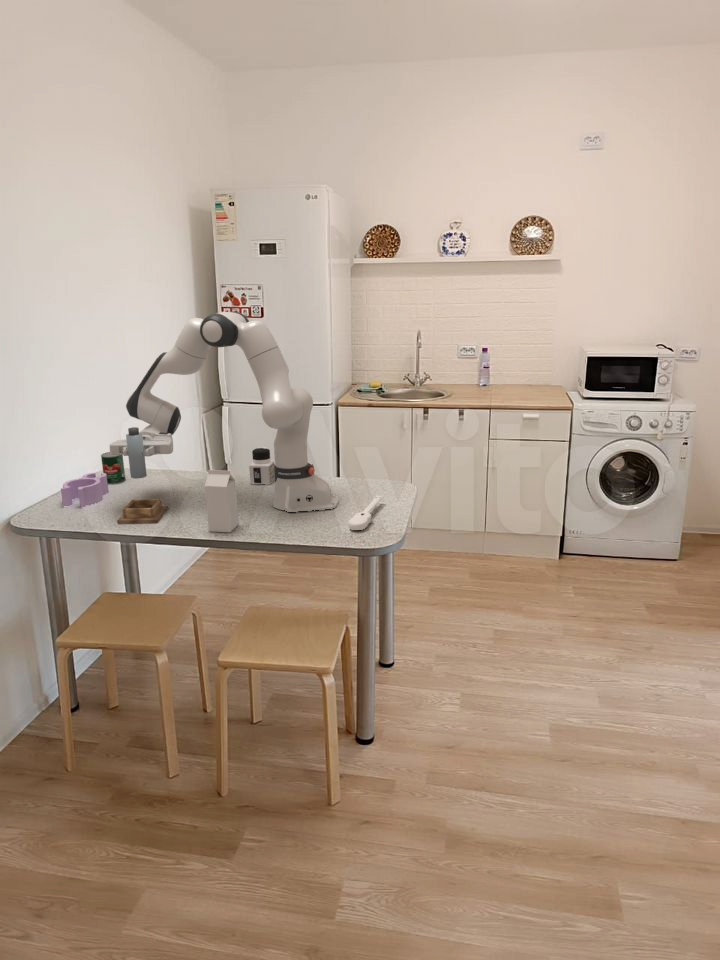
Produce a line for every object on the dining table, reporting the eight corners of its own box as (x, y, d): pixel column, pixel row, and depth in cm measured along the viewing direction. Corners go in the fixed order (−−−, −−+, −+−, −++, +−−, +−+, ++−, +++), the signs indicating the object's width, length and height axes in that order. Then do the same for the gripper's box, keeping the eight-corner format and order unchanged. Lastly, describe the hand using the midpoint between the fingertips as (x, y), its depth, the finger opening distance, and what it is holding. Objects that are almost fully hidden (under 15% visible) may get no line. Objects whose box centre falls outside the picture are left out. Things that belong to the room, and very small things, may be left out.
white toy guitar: (371, 503, 244) (371, 495, 244) (388, 504, 243) (387, 496, 242) (345, 531, 219) (345, 523, 218) (363, 533, 217) (363, 524, 216)
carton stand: (168, 508, 244) (167, 497, 242) (157, 523, 230) (156, 510, 229) (130, 509, 244) (129, 497, 242) (117, 524, 230) (115, 511, 229)
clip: (86, 490, 267) (83, 472, 265) (117, 491, 265) (115, 473, 263) (56, 507, 248) (53, 488, 246) (90, 508, 246) (87, 489, 244)
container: (270, 485, 267) (267, 451, 263) (250, 484, 268) (247, 451, 264) (275, 479, 274) (273, 446, 270) (256, 478, 275) (254, 446, 272)
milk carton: (230, 533, 220) (225, 474, 215) (208, 531, 222) (203, 473, 216) (238, 525, 227) (234, 467, 221) (217, 523, 228) (212, 466, 223)
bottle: (148, 473, 235) (143, 426, 231) (144, 478, 230) (138, 430, 226) (133, 474, 235) (128, 426, 231) (128, 478, 230) (123, 430, 226)
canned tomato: (106, 485, 271) (102, 457, 268) (102, 480, 278) (99, 453, 274) (127, 482, 275) (124, 454, 271) (123, 477, 281) (120, 450, 278)
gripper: (115, 434, 242) (101, 444, 229) (176, 433, 242) (165, 443, 229) (118, 452, 244) (104, 463, 231) (177, 451, 244) (167, 462, 231)
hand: (135, 453), depth 230 cm, fingers closed on bottle, 5 cm apart
